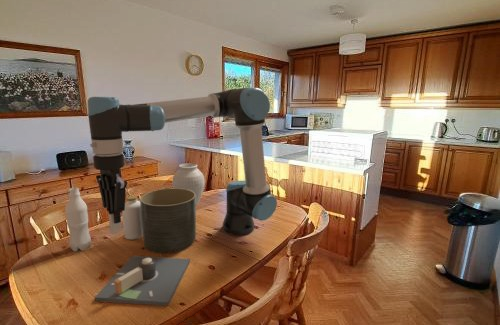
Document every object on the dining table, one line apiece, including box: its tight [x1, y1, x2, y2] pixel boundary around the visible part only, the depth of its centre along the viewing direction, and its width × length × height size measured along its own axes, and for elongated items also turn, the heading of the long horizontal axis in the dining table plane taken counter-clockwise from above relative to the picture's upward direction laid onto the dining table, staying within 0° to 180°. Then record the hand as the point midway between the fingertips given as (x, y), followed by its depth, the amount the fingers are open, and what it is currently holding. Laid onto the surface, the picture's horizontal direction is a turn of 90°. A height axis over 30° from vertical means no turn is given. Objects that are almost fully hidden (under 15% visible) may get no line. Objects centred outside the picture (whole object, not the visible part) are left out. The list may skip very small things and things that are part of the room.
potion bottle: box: [121, 195, 143, 241], centre depth 113 cm, size 8×8×18 cm
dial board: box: [94, 255, 191, 307], centre depth 86 cm, size 22×22×1 cm
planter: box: [139, 187, 197, 254], centre depth 110 cm, size 22×22×20 cm
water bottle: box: [64, 187, 92, 252], centre depth 101 cm, size 7×7×25 cm
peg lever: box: [114, 258, 156, 294], centre depth 82 cm, size 13×5×6 cm, turn 148°
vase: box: [171, 162, 206, 207], centre depth 146 cm, size 18×18×25 cm
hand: (116, 231), depth 77 cm, fingers closed
